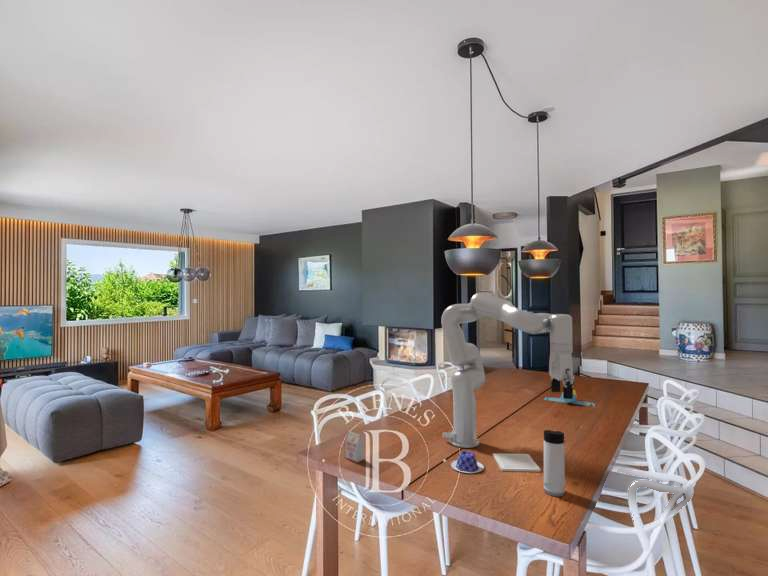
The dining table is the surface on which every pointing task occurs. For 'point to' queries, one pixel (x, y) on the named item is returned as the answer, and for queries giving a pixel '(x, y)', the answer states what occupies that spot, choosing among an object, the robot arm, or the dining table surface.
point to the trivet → (516, 462)
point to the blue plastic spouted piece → (569, 400)
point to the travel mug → (554, 463)
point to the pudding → (467, 463)
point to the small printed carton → (354, 447)
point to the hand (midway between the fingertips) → (561, 395)
